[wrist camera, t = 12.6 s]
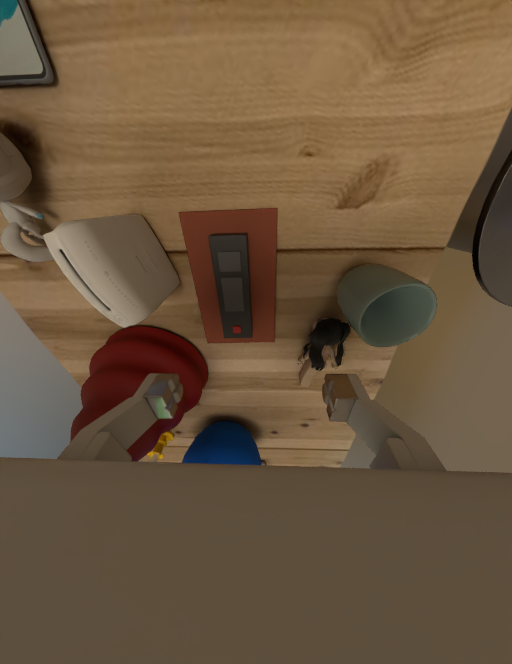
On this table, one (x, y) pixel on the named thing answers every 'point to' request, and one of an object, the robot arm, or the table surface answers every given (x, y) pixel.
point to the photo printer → (114, 265)
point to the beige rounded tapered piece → (18, 206)
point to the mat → (260, 263)
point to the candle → (160, 446)
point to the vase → (223, 446)
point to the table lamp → (140, 378)
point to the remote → (232, 282)
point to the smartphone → (21, 47)
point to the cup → (385, 304)
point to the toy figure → (323, 347)
